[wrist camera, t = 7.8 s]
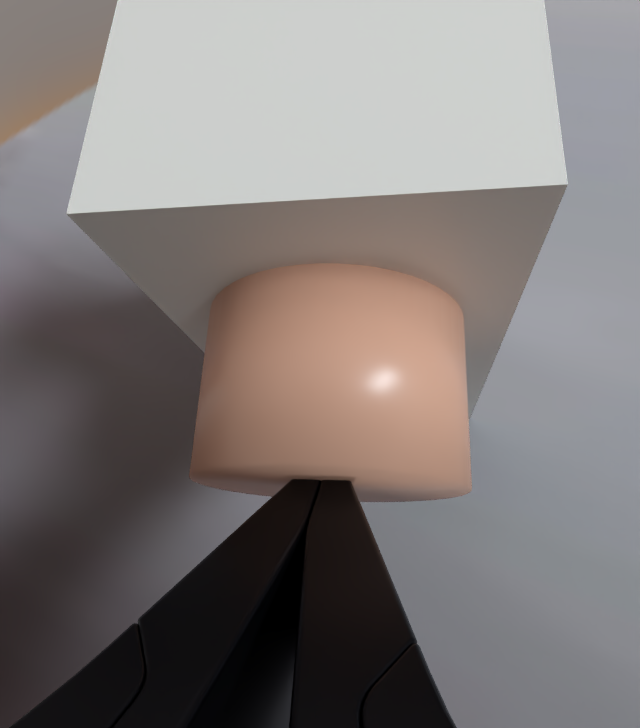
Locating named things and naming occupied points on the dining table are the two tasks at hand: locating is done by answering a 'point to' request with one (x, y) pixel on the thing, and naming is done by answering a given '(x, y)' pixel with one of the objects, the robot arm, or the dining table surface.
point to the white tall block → (325, 149)
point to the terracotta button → (334, 385)
